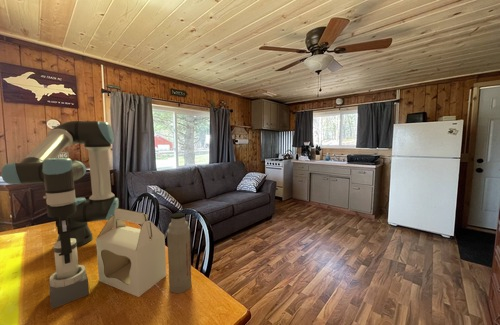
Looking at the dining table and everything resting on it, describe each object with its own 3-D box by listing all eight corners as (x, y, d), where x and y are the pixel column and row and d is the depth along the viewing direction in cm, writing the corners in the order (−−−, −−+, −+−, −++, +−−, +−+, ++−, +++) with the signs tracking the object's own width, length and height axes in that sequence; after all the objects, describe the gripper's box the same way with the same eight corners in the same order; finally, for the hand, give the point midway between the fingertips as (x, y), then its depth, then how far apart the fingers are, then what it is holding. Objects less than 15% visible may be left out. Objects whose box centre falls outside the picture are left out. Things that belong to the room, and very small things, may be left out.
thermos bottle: (195, 280, 84) (193, 211, 82) (185, 294, 77) (182, 219, 74) (176, 277, 86) (174, 210, 83) (165, 291, 78) (161, 217, 75)
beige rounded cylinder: (78, 267, 80) (75, 236, 79) (79, 274, 76) (76, 242, 75) (56, 274, 76) (53, 241, 75) (56, 282, 72) (53, 248, 71)
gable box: (167, 275, 87) (164, 209, 84) (139, 297, 75) (134, 220, 72) (129, 263, 96) (125, 202, 93) (98, 281, 84) (93, 212, 81)
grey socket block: (51, 293, 77) (48, 272, 76) (85, 280, 84) (84, 261, 83) (51, 309, 70) (48, 286, 69) (89, 294, 77) (87, 273, 76)
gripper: (46, 199, 78) (52, 259, 80) (46, 212, 64) (53, 284, 67) (73, 195, 83) (78, 252, 85) (78, 207, 69) (84, 274, 72)
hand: (67, 266), depth 76 cm, fingers closed on beige rounded cylinder, 6 cm apart
